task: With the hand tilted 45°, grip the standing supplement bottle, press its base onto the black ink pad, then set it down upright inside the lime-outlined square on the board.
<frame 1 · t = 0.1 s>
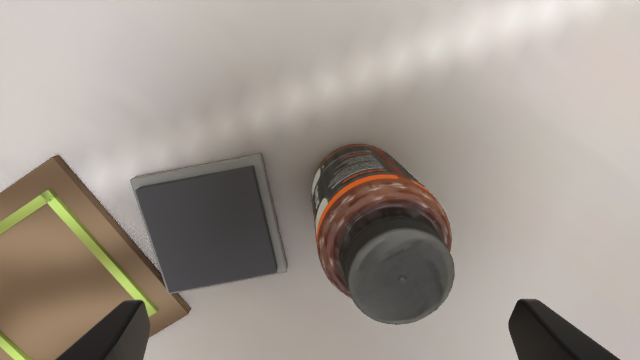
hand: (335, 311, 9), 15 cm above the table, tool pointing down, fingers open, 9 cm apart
ink pad: (214, 223, 25), on the table
target board: (52, 286, 25), on the table
supplement bottle: (356, 186, 25), on the table
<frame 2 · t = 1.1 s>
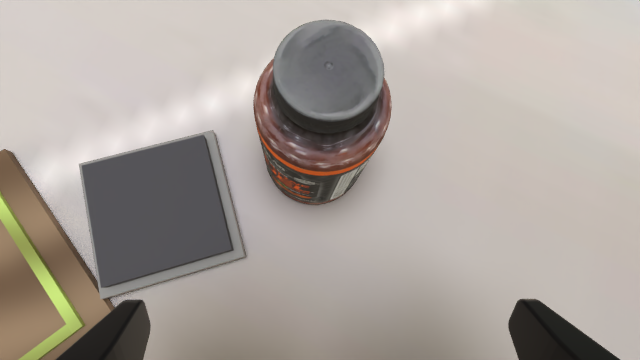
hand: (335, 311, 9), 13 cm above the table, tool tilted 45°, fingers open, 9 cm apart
ink pad: (164, 211, 23), on the table
supplement bottle: (313, 162, 24), on the table
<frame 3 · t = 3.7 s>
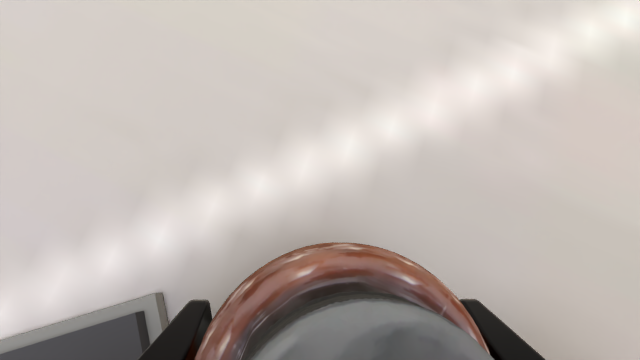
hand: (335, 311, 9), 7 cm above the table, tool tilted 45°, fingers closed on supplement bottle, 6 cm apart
supplement bottle: (318, 333, 15), on the table, touching gripper
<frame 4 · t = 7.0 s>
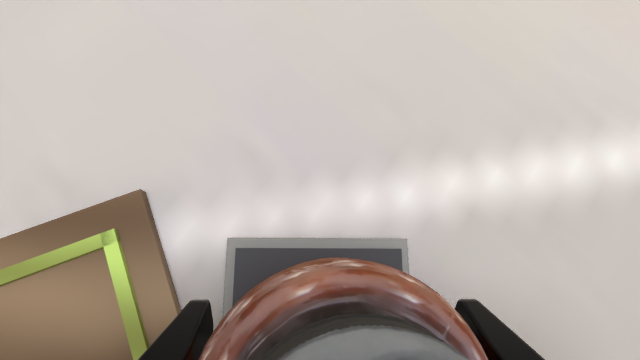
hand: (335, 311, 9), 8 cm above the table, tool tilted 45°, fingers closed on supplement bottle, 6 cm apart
ink pad: (317, 332, 17), on the table
supplement bottle: (318, 343, 15), point 1 cm above the table, touching gripper, ink pad
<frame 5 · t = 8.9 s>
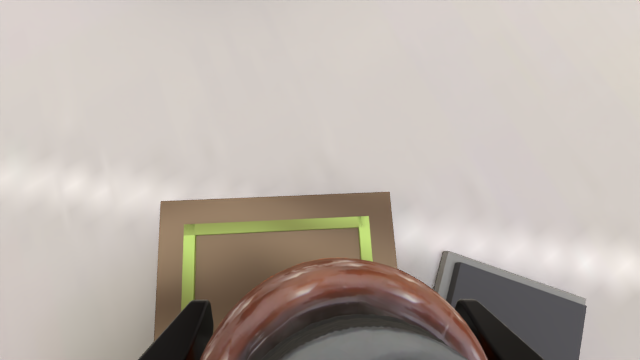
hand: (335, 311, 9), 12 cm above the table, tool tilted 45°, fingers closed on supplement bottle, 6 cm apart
ink pad: (494, 345, 21), on the table
target board: (281, 315, 21), on the table
supplement bottle: (318, 341, 15), point 6 cm above the table, touching gripper
when the fingers open (8 cm above the table, at t = 10.5 s): supplement bottle stays where it is, resting on target board.
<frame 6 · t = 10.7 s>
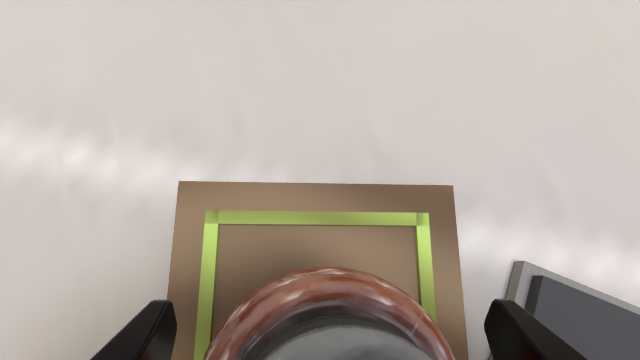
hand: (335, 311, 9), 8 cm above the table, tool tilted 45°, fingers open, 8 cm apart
target board: (317, 328, 17), on the table
supplement bottle: (312, 342, 16), resting on target board
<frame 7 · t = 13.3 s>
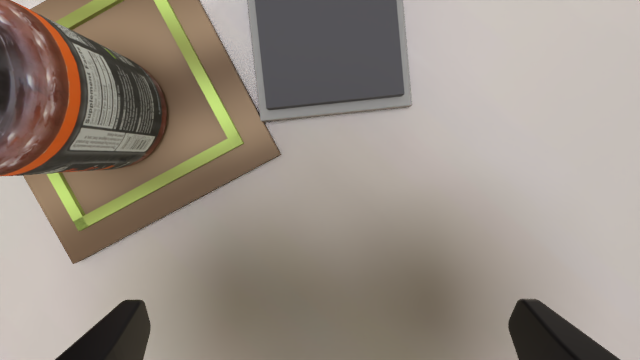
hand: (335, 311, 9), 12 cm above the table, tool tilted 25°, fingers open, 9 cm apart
ink pad: (328, 40, 20), on the table
target board: (122, 105, 21), on the table
supplement bottle: (119, 114, 21), resting on target board
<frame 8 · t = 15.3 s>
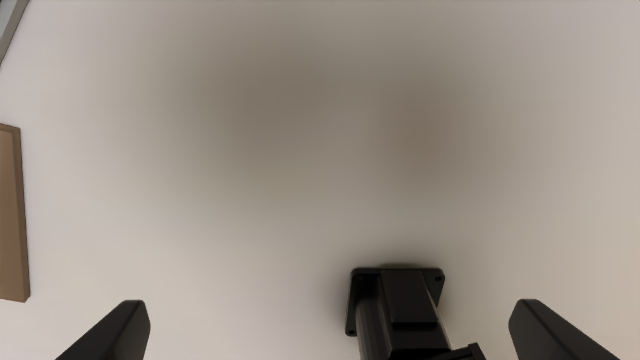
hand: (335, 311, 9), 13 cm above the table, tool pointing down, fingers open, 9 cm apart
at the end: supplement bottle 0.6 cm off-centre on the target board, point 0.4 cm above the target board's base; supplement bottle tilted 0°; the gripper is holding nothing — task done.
